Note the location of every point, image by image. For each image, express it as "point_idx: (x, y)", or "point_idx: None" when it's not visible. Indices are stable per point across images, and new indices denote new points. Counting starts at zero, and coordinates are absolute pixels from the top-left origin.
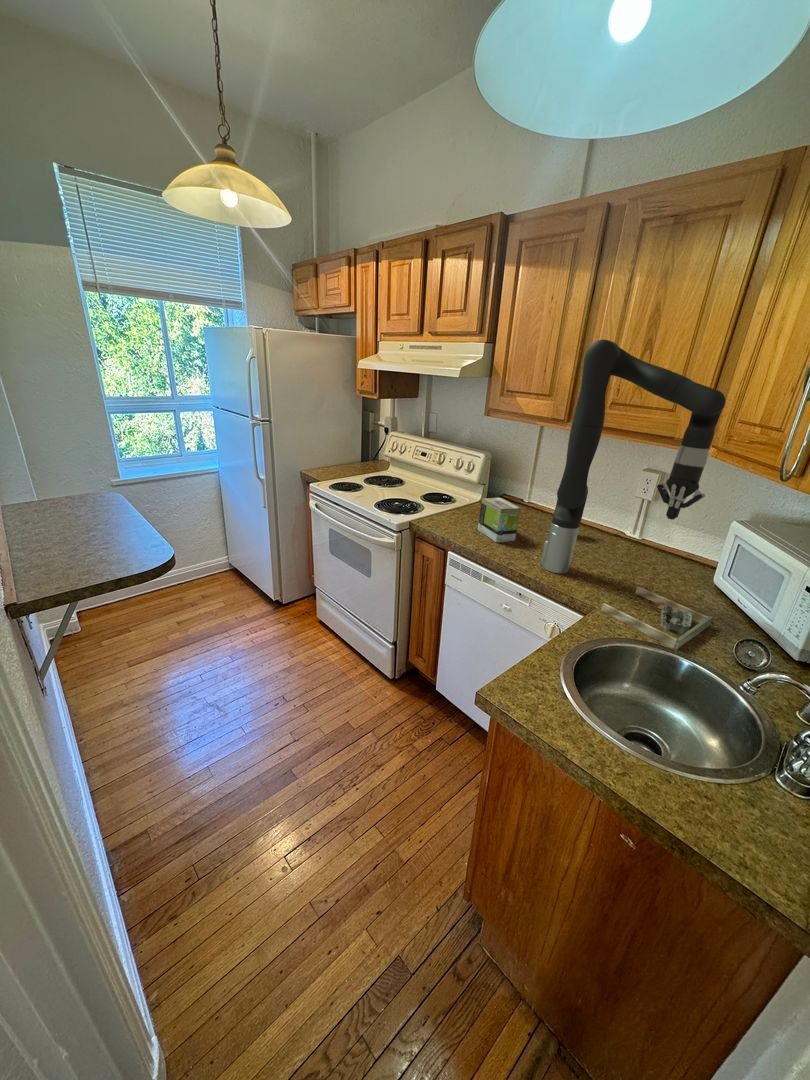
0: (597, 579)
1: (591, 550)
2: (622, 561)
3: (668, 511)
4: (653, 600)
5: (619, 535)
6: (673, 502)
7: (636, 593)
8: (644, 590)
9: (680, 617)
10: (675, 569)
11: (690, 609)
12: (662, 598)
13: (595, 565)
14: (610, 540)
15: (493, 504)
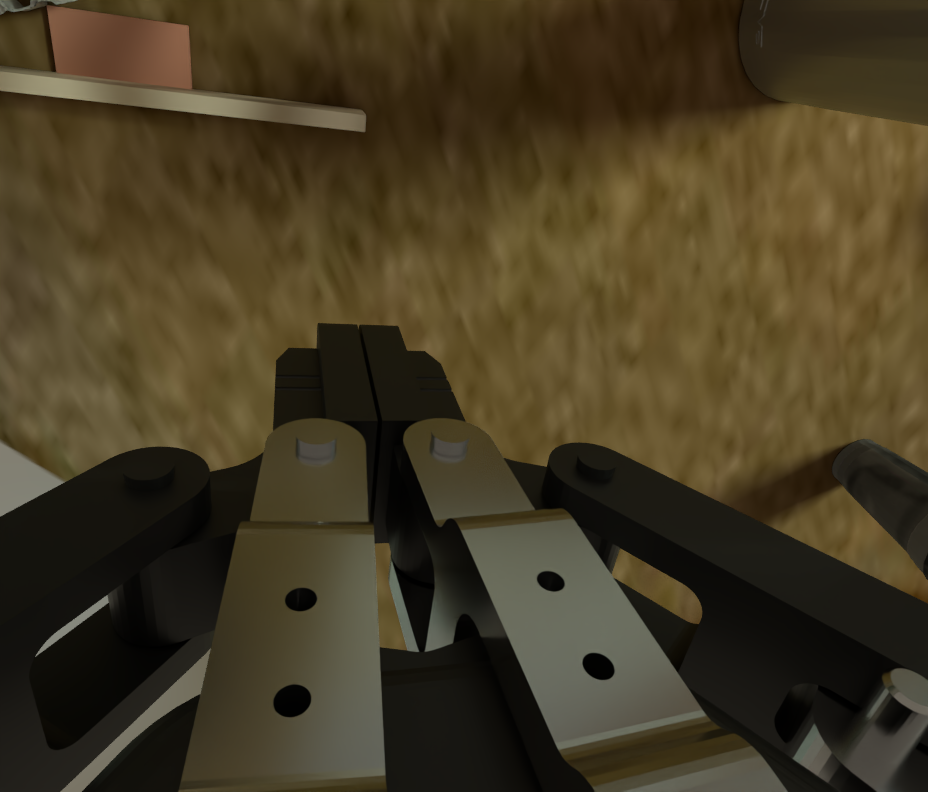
0: (579, 98)
1: (701, 422)
2: (554, 439)
3: (429, 391)
4: (246, 96)
5: None
6: (423, 486)
7: (354, 109)
8: (317, 110)
9: (32, 9)
10: None
11: (5, 85)
12: (194, 93)
13: (640, 273)
14: (661, 587)
15: None
